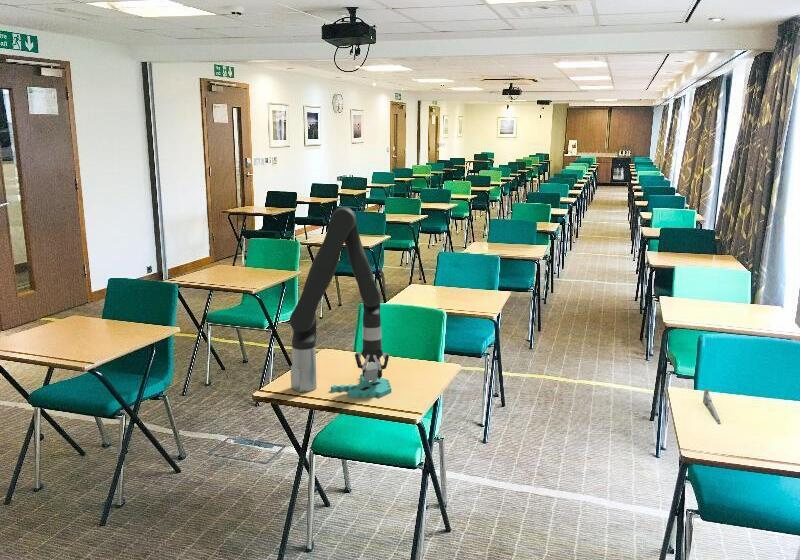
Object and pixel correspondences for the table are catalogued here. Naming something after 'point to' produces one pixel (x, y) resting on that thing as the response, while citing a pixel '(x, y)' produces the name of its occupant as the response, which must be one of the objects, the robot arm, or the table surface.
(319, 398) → the table surface
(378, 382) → the alien figure
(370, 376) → the grey rectangular block
